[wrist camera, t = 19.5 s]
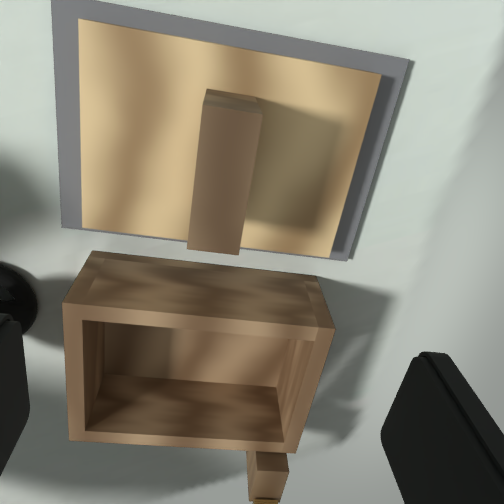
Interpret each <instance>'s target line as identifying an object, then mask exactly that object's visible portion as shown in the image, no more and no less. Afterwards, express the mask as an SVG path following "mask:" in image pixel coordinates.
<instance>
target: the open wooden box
mask: <svg viewBox="0 0 504 504" xmlns="http://www.w3.org/2000/svg"><path fill="white" fill-rule="evenodd" d="M62 313H63V332H64V352H65V371H66V391H67V410H68V430H69V441H84V442H101V443H119V444H137V445H155V446H173V447H190V448H208V449H226V450H244V451H246V456H247V475H248V492H249V501H254V499H265V500H278V502H280V499H281V496H282V493H283V490H284V487H285V483H286V480H287V477H288V474H289V468H288V461H287V454H286V453H296V451H297V448H298V445H299V441H300V438H301V435H302V432H303V429H304V426H305V423H306V420H307V417H308V413H309V410H310V407H311V404H312V401H313V398H314V395H315V392H316V389H317V386H318V382H319V379H320V376H321V373H322V370H323V367H324V364H325V361H326V358H327V354H328V351H329V348H330V345H331V342H332V339H333V336H334V333H335V330H336V329H335V326H334V323H333V321H332V318H331V315H330V313H329V310H328V307H327V304H326V302H325V299H324V296H323V294H322V291H321V288H320V286H319V283H318V280H317V278H316V276H312V275H303V274H294V273H286V272H277V271H268V270H259V269H250V268H241V267H233V266H224V265H215V264H206V263H197V262H188V261H180V260H171V259H162V258H153V257H144V256H135V255H127V254H118V253H109V252H100V251H92V252H91V254H90V255H89V257H88V259H87V260H86V262H85V264H84V266H83V267H82V269H81V271H80V273H79V274H78V276H77V278H76V279H75V281H74V283H73V285H72V286H71V288H70V290H69V291H68V293H67V295H66V297H65V298H64V300H63V302H62Z"/></svg>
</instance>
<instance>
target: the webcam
mask: <svg viewBox="0 0 504 504" xmlns="http://www.w3.org/2000/svg"><path fill="white" fill-rule="evenodd" d="M0 286H2V287H3V288H4V289H6V290H7V291H8V292H9V293H10V294H11V295H12V296H13V298H14V300H12V301H3V300H0V313H3V314H10V315H12V317H13V320H14V321H18V322H20V324H21V328H22V334H24V333H25V332H26V331H27V330H28V329H29V328H30V327H31V326H32V324H33V322H34V320H35V318H36V315H37V300H36V296H35V294H34V292H33V290H32V288H31V287H30V285H29V284H28V283H27V282H26V281H25V280H24V279H23V278H22V277H21V276H20V275H19V274H17V273H16V272H15V271H13V270H11V269H9V268H7V267H5V266H3V265H0Z"/></svg>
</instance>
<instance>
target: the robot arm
mask: <svg viewBox="0 0 504 504" xmlns="http://www.w3.org/2000/svg"><path fill="white" fill-rule="evenodd" d="M29 411H30V403H29V394H28V384H27V375H26V366H25V356H24V347H23V337H22V328H21V324H20V322H18V321H14V320H13V317H12V315H10V314H3V313H0V476H1V474H2V472H3V470H4V468H5V465H6V463H7V461H8V459H9V457H10V455H11V453H12V451H13V449H14V447H15V445H16V443H17V441H18V439H19V437H20V435H21V433H22V431H23V429H24V427H25V425H26V422H27V420H28V417H29ZM381 442H382V446H383V448H384V451H385V453H386V456H387V458H388V461H389V464H390V466H391V469H392V472H393V474H394V477H395V479H396V482H397V484H398V487H399V490H400V492H401V495H402V498H403V500H404V503H405V504H504V434H503V433H502V432H501V430H500V428H499V427H498V426H497V424H496V423H495V421H494V420H493V418H492V417H491V416H490V414H489V413H488V411H487V410H486V408H485V407H484V405H483V404H482V402H481V401H480V400H479V398H478V397H477V395H476V394H475V392H474V391H473V390H472V388H471V387H470V385H469V384H468V382H467V381H466V379H465V378H464V377H463V375H462V374H461V372H460V371H459V369H458V368H457V366H456V365H455V364H454V362H453V361H452V359H451V358H450V357H449V356H448V355H447V354H445V353H436V352H421V353H420V354H419V356H418V357H414V358H413V359H412V361H411V363H410V366H409V368H408V370H407V372H406V374H405V377H404V379H403V381H402V384H401V386H400V388H399V390H398V392H397V395H396V398H395V399H394V402H393V404H392V406H391V409H390V411H389V413H388V415H387V417H386V420H385V422H384V425H383V426H382V430H381Z"/></svg>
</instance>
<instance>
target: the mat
mask: <svg viewBox="0 0 504 504" xmlns="http://www.w3.org/2000/svg"><path fill="white" fill-rule="evenodd" d="M51 11H52V32H53V54H54V75H55V96H56V117H57V139H58V160H59V181H60V203H61V224H62V228H70V229H79V230H87V231H95V232H104V233H112V234H121V235H129V236H138V237H146V238H154V239H163V240H171V241H180V242H188V241H187V240H179V239H171V238H163V237H154V236H146V235H138V234H130V233H122V232H113V231H105V230H97V229H89V228H82V189H81V137H80V84H79V32H78V19H88V20H94V21H99V22H104V23H110V24H115V25H121V26H126V27H132V28H137V29H142V30H148V31H153V32H159V33H164V34H169V35H175V36H180V37H186V38H191V39H197V40H202V41H207V42H213V43H218V44H224V45H229V46H234V47H240V48H245V49H251V50H256V51H261V52H267V53H272V54H278V55H283V56H289V57H294V58H299V59H305V60H310V61H316V62H321V63H326V64H332V65H337V66H343V67H348V68H353V69H359V70H364V71H370V72H375V73H378V74H381V79H380V82H379V86H378V89H377V93H376V96H375V100H374V103H373V107H372V110H371V114H370V117H369V121H368V124H367V128H366V131H365V134H364V138H363V141H362V145H361V148H360V152H359V155H358V159H357V162H356V166H355V169H354V173H353V176H352V180H351V183H350V187H349V190H348V193H347V197H346V200H345V204H344V207H343V211H342V214H341V218H340V221H339V225H338V228H337V232H336V235H335V239H334V242H333V246H332V249H331V253H330V256H329V258H326V257H318V256H310V255H302V254H294V253H285V252H277V251H269V250H261V249H253V248H245V247H240V249H247V250H255V251H264V252H272V253H280V254H289V255H297V256H306V257H314V258H322V259H331V260H339V261H347V260H348V257H349V254H350V251H351V247H352V244H353V241H354V238H355V234H356V231H357V228H358V225H359V222H360V218H361V215H362V212H363V209H364V205H365V202H366V199H367V196H368V192H369V189H370V186H371V183H372V179H373V176H374V173H375V170H376V167H377V163H378V160H379V157H380V154H381V150H382V147H383V144H384V141H385V137H386V134H387V131H388V128H389V124H390V121H391V118H392V115H393V112H394V108H395V105H396V102H397V99H398V95H399V92H400V89H401V86H402V82H403V79H404V76H405V73H406V69H407V66H408V63H409V60H410V59H405V58H399V57H394V56H389V55H383V54H378V53H373V52H367V51H362V50H357V49H351V48H346V47H341V46H335V45H330V44H325V43H319V42H314V41H309V40H303V39H298V38H293V37H288V36H282V35H277V34H272V33H266V32H261V31H256V30H250V29H245V28H240V27H234V26H229V25H224V24H218V23H213V22H208V21H202V20H197V19H192V18H186V17H181V16H176V15H170V14H165V13H160V12H154V11H149V10H144V9H138V8H133V7H128V6H122V5H117V4H112V3H106V2H101V1H96V0H51Z"/></svg>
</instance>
